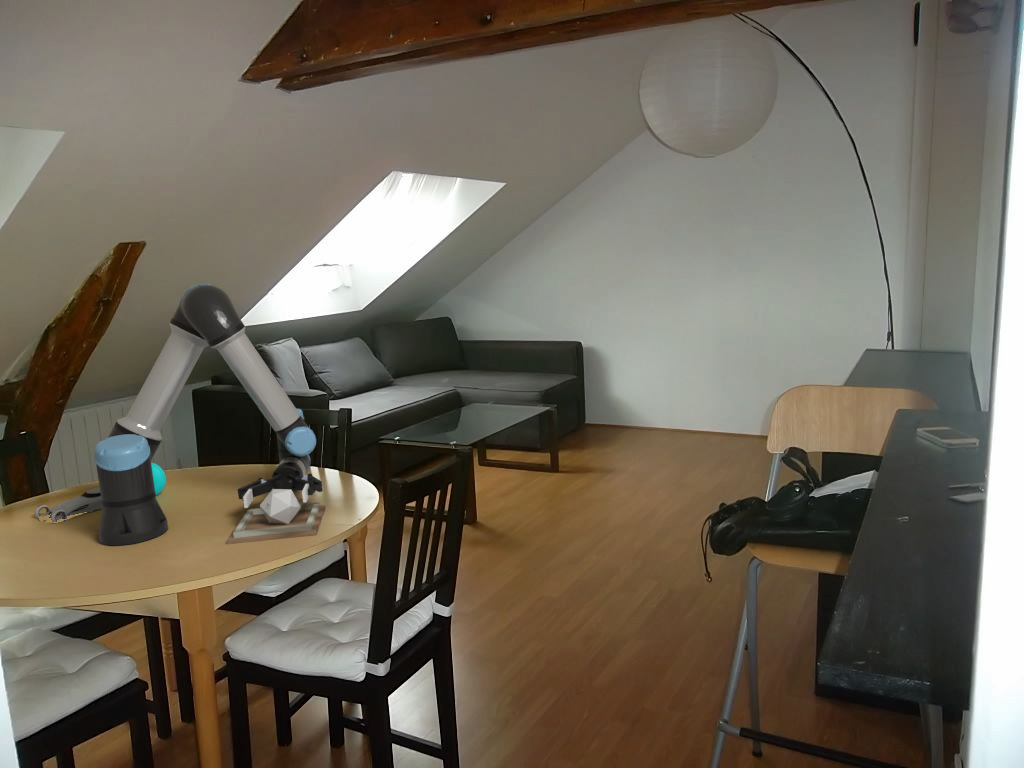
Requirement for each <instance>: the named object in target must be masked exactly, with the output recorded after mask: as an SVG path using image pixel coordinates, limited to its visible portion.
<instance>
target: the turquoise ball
mask: <svg viewBox="0 0 1024 768" xmlns="http://www.w3.org/2000/svg"><path fill="white" fill-rule="evenodd" d="M151 465H152V473H153V480H154V487H155V494H156V496H158V495H159V494H161V492H162V491H163V490H164V489H165V487H166V484H167V477H166V473H165V471H164V470H163V468H162V467H161V466H160V465H158V464H156V463H155V462H152V461H151Z"/></svg>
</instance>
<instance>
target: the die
mask: <svg viewBox="0 0 1024 768" xmlns="http://www.w3.org/2000/svg"><path fill="white" fill-rule="evenodd" d="M300 504H301V503H299V500H298V499H297V497H296V495H295V493H294V491H292V490H291V489H274V488H272V491H271V492H270V493H269V492H268V494H267V495H266V497H265V498H264V500H263V501H262V502H261V503H260V505H259V508H261V509H262V511H263V513H264V514H265V516H266V518H267V520H268V521H269V523H270V524H289V523H290V521H291V520H292V519H293V517H294V516H295V515H296V514H297V512H298V511H299V510H300V508H301V506H300Z"/></svg>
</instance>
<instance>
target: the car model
mask: <svg viewBox="0 0 1024 768" xmlns="http://www.w3.org/2000/svg"><path fill="white" fill-rule="evenodd" d="M42 509H45V510H46V511H45V513H44V514H43V515H41V514H40V511H41V510H42ZM99 509H101V510H103V506H102V499H101V493H100V486H97V487H94V488H90V489H87V490H86V491H85V492H83V493H82V494H81V495H78V496H76V497H73V498H71V499H68V500H66V501H62V502H61V503H58V504H57V505H56V506H54V507H52V508H51V507H50V506H49V505H46V504H41V505H39V506H37V507H36V508H35V510H34V515H35V517H36V518H37V517H40V516H42V517H44V516H47V515H50V514H51V515H50V517H49V518H51V520H52V522H57V520H59V519H61V518H62V519H67V516H70V515H75V514H79V513H84V512H90V513H92V512H91V511H94V512H96V511H95V510H97V511H100V510H99Z"/></svg>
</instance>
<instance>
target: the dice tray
mask: <svg viewBox="0 0 1024 768" xmlns="http://www.w3.org/2000/svg"><path fill="white" fill-rule="evenodd" d="M299 504H300V506H301V508H300V510H299V511H298V512H297V514H296V515H295V516H294V517H293V519H292V520H291V521H290V523H289V524H270V523H269V521H268V520H267V518H266V516H265V514H264V513H263V511H262V509H261V507H257V508H249V509H248V508H247V509H248V510H247V511H246V512H244V513H243V514H242V516H241V518H240V519H239V521H238V522H237V524H236V525H235V527H234V529H233V530H232V532H231V533H230V534H229V536H228V538H227V540H226V544H227V545H230V544H238V543H248V542H258V541H260V542H261V541H268V540H269V541H270V540H280V538H281V539H289V538H288V537H291V538H298V537H297V536H301V537H309V535H310V536H317V535H318V532H319V529H320V526H321V524H320V523H321V522H322V521H321V520H323V518H322V517H324V514H325V512H326V508H327V506H326V504H321V505H320V501H319V502H310V503H299Z"/></svg>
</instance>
